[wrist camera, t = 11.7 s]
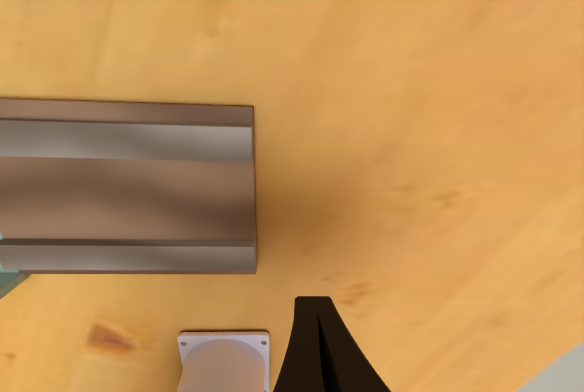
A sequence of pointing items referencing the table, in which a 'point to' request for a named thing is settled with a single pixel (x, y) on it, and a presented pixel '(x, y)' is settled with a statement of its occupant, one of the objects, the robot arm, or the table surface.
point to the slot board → (126, 187)
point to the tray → (10, 279)
